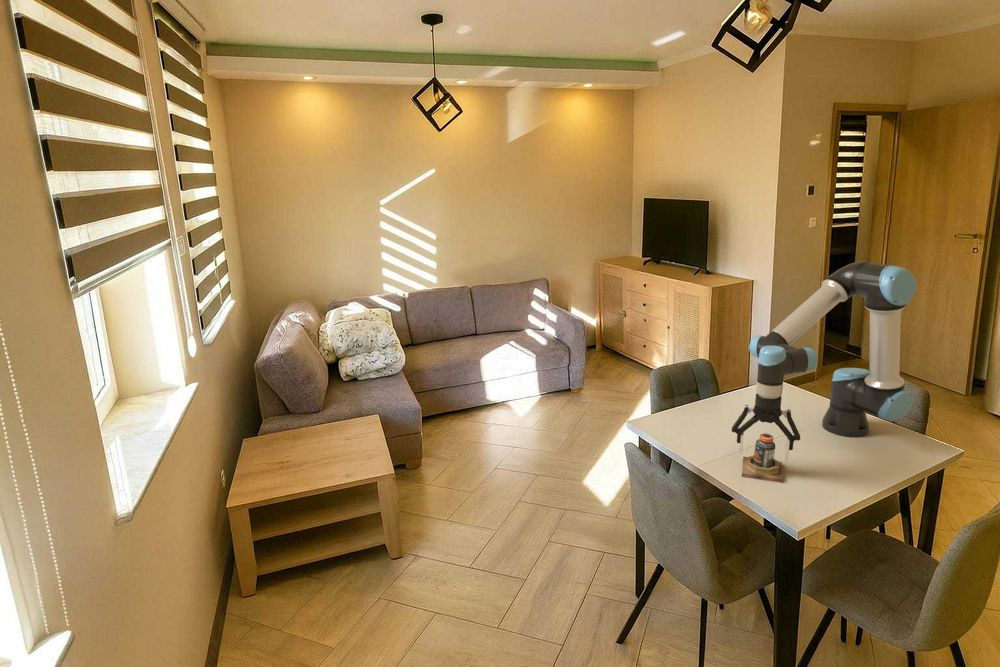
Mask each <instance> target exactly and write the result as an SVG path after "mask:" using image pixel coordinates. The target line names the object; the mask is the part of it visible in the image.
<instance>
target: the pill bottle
mask: <svg viewBox="0 0 1000 667" xmlns="http://www.w3.org/2000/svg"><path fill="white" fill-rule="evenodd" d="M775 451H776V444H775V441H774V436H773V435H771V434H769V433H760V435H759V438H758V439H756V441H755V447H754V454H753V455H754V459H753V464H754V465H755V466H757V467H763V468H770V467H772V465H773V459H775Z"/></svg>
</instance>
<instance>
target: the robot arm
mask: <svg viewBox="0 0 1000 667" xmlns="http://www.w3.org/2000/svg"><path fill="white" fill-rule="evenodd" d="M916 291H917V281H916V277H915V276H914V274H913V273H912V272H911V271H910V270H909V269H907V268H905V267H900V266H898V265H894V264H893V265H891V264H890V265H889V264H885V263H884V264H882V263H878V262H872V261H868V260H859V261H856V262H853V263H849V264H847V265H845V266H843V267H840V268H839V269H837V270H835V272H833V273H831V274H830V275H829V276H828V277H826V278H825V279H824V280H822V282H821V287H820V288H818V290H816V291H815V292H814V293H813V294H812V295H810V296H809V297H808V298H807V299H806V300H805V301H804V302H802V304H800V305H799V306H798V307H797V308H796V309H795V310H794V311H793V312H792V313H790V314H789V315H788V316H786V318H785V319H784V320H782V321H781V322H780V323H779V324H777V326H776V327H774V328H773V329H772V330H771V331H770V332H769V333H767V334H766V336H765V335H755V336H754V337H753V338H752V339H751V340H750V342H749V346H748V349H749V352H750V354H751V356H754V357H755V358H757V360H758V362H757V378H756V387H755V388H756V389H755V393H756V394H755V400H754V401H755V402H754V406H749V405H748V404H745V405H744V407H743V411H742V413H741V414H740V415H739V416H738V418H737V419H736V421H735V422H734V423H733V425H732V427H731V432H732V433H735V434H736V435H737V436H736V443H737V444H739V446H740V447H739V454H740V455H743V449H744V436H745V434H744V432H746V431H747V430H748V429H749V428H751V427H752V426H753V425H754V424H756V423H758V421H760V422H761V423H767V424H773V423H774V424H775V425H776V426H777V427H778V428H779V429H780V430H781V432H782V433H783V434H784V436H785V437H786V443H785V454H784V460H785V461H788V460H789V454H790V453H789V452H790V451H793V449H794V442H795V441H800V440H801V434H800V432H799V430H798V428H797V426H796V424H795V421H794V419H793V416H792V411H791V409H786V410H782V408H781V407H782V395H783V388H784V379H785V378H784V377H785V376H788V375H794V374H801V373H806V372H809V371H812V370H814V369H815V368H817V366H818V362H819V361H818V360H819V359H818V358H819V357H818V354H817V352H816V351H815V350H814V349H813V348H811V347H803V346H802V347H799V348H797V347H795V346H792V345H793V343H795V342H796V341H797V340H798V339H800V337H801V336H803V335H804V334H805V333H806V332H807V331H809V329H811V328H812V327H813V326H814V325H815V324H816V323H817V322H819V321H820V320H821V319H822V318H824V316H826V314H828V313H829V312H830V311H831V310H832V309H834V307H835V306H837V305H838V304H839V303H840V302H841V303H843V302H846V301H847V300H848V299H849V298H851V297H854V296H855V297H856V296H857V297H862V298H863V299H864V300H863V301H864V304H863V305H864V308H865V309H866V310H867V311H869V370H868V369H865V368H859V367H842V368H838V369H836V370H835V371H834V372H833V375H832V379H831V386H830V387H831V388H830V397H829V398H830V399H829V405H828V408H827V410H826V412H825V414H824V415H823V417H822V421H821V425H822V428H823V429H824V430H826V431H828V432H830V433H832V434H835V435H838V436H843V437H850V438H851V437H852V438H855V437H856V438H858V437H864V436H866V435H868V434H869V429H870V425H869V421H868V417H867V413H869V414H871V415H873V416H876V417H878V418H880V419H883V420H886V421H890V422H894V421H895V422H896V421H898V420H900V419H902V418H903V417H905V416H906V414H907V413H909V411H910V409H911V408H912V405H913V402H914V397H913V394H912V393H911V392H910V391H909V390H906V389H905V388H906V387H905V386H906V385H905V379H904V378H903V377H901V375H900V361H901V358H900V357H901V321H902V320H901V317H902V316H901V313H902V311H903V310H904V309H905V308H907V304H909V303H910V302H911V301H912V300H913V299H914V295H916ZM752 412H753V414H754V415H753V416H752V417H750V419H748V420H747V421H746V422H745V423H743V422H744V421H745V419H746V417H747V416H748V414H750V413H752ZM866 412H867V413H866ZM782 415H783V417H784V418H786V420H787V423H788V424H789V427H790V429H791V431H792V432H791V431H790V430H789V428H788V427H787V426H786V425H785V424H784V423H783V421H782V420H781V419H780V417H781V416H782ZM742 423H743V424H742ZM741 424H742V425H741ZM740 425H741V426H740Z"/></svg>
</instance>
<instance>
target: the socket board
mask: <svg viewBox="0 0 1000 667" xmlns="http://www.w3.org/2000/svg"><path fill="white" fill-rule="evenodd" d="M753 459H754V454H753V455H750V456H743V458H742V466H741V467H742V468H741V477H743V478H748V479H749V478H750V479H754V480H761V481H769V482H774V483H781V484H782V483H783V481H784V479H783V474H784V473H783V462H782V461H779V460H776V459H775V458H774V459H773V465H772V467H770V468H763V467H757V466H755V465H754V464H753Z"/></svg>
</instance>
